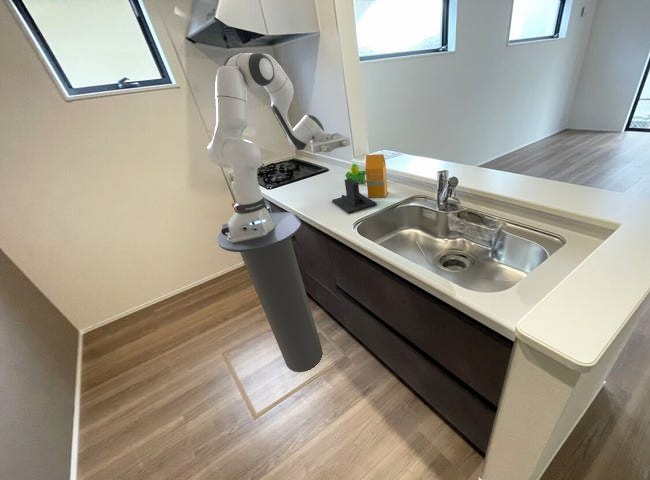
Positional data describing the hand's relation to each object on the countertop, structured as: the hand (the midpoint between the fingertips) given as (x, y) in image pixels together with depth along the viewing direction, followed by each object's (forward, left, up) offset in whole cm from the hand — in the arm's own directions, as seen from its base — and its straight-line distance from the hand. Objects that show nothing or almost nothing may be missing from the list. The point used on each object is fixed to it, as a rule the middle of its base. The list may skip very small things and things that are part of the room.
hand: (336, 146), depth 143 cm
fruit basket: (+16, +17, -25) cm, 34 cm away
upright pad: (0, -12, -24) cm, 27 cm away
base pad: (0, -12, -25) cm, 28 cm away
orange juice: (+15, -10, -25) cm, 31 cm away
